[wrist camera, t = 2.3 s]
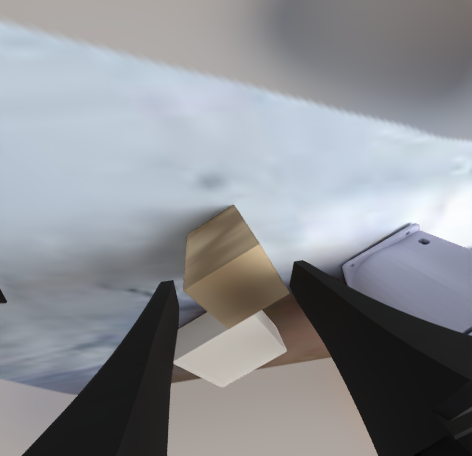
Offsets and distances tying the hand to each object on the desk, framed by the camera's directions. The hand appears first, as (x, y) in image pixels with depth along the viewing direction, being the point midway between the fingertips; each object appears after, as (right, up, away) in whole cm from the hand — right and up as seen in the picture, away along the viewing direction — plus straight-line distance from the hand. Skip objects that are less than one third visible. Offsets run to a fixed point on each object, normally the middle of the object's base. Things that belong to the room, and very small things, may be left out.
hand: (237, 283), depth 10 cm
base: (-1, -9, +10) cm, 14 cm away
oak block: (-1, +2, +5) cm, 5 cm away
